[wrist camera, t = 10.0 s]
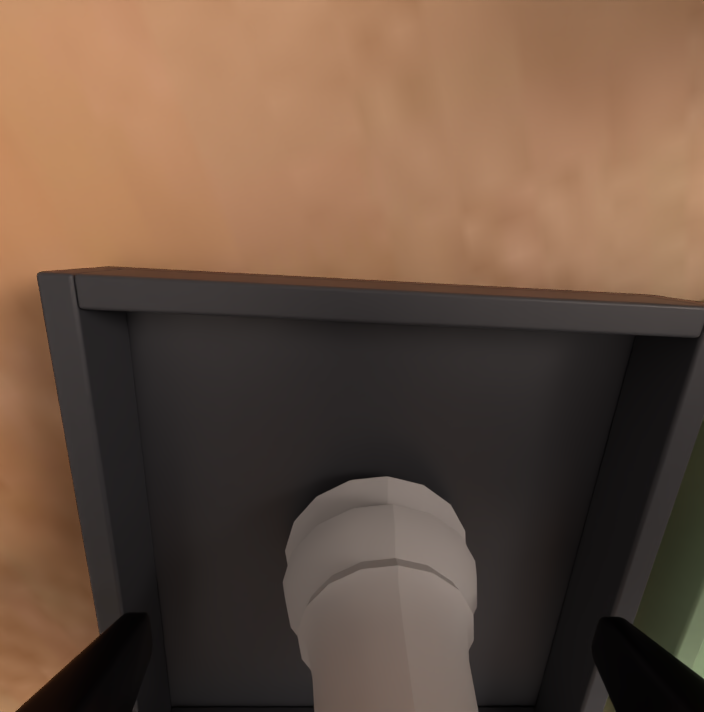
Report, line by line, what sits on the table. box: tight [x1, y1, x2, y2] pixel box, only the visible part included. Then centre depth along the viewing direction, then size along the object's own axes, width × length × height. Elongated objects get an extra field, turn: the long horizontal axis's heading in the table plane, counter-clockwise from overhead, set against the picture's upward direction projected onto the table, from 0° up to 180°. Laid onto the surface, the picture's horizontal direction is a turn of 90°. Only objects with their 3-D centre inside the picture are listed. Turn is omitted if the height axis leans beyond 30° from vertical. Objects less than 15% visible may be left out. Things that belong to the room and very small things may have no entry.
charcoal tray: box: [37, 266, 704, 712], centre depth 9 cm, size 12×13×2 cm
